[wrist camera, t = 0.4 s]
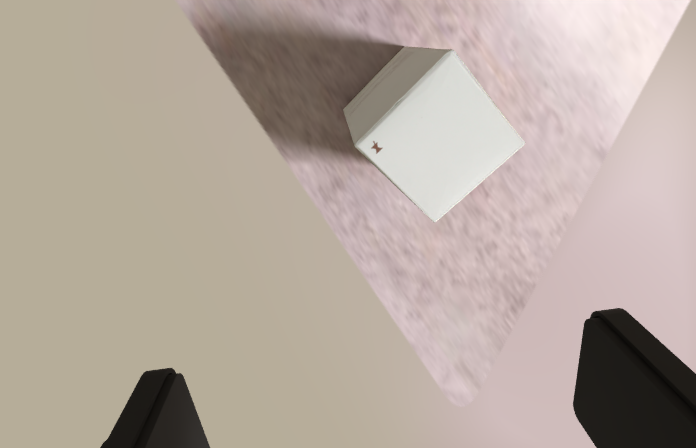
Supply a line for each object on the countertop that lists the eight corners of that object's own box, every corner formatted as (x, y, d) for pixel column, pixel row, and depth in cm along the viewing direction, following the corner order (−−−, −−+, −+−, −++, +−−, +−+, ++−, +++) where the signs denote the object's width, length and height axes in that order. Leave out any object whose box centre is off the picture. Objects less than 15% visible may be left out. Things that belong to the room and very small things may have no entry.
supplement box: (398, 169, 37) (432, 228, 26) (340, 109, 35) (349, 144, 24) (463, 110, 36) (530, 145, 24) (406, 42, 33) (451, 45, 22)
